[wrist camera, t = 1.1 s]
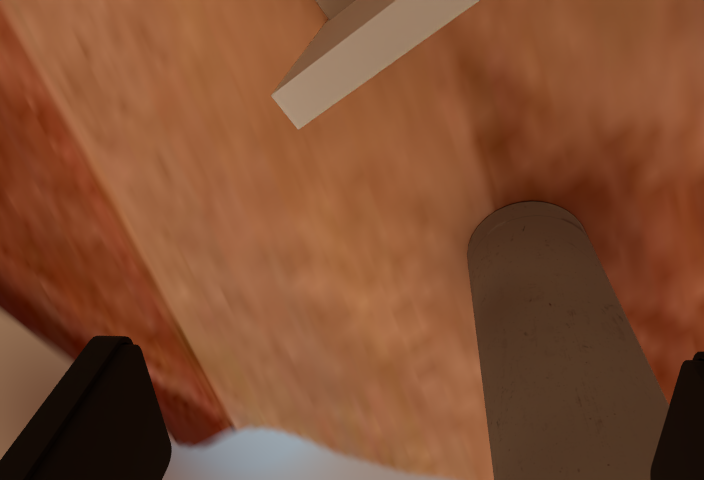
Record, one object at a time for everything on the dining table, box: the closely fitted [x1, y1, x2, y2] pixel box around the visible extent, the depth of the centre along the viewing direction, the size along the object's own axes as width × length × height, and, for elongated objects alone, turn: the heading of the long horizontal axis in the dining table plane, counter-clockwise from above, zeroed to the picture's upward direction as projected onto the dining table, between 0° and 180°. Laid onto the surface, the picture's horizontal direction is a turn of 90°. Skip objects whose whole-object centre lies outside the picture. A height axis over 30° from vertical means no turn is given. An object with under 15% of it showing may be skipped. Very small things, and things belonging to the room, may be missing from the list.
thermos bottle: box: [467, 201, 669, 480], centre depth 28 cm, size 8×8×28 cm
